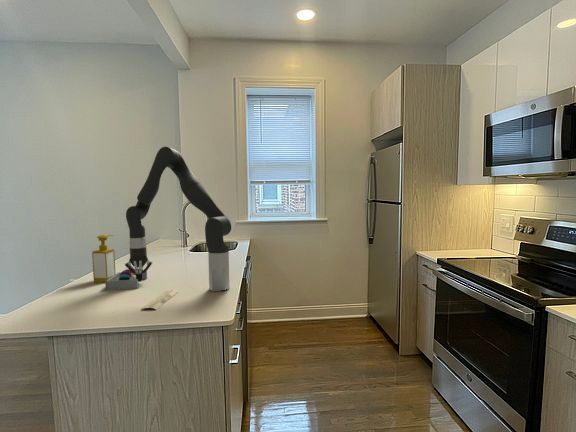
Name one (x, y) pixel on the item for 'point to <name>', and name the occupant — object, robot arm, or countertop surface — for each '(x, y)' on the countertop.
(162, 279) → the countertop surface
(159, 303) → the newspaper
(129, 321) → the countertop surface
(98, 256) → the soap bottle
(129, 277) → the rainbow striped dome
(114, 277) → the tray
